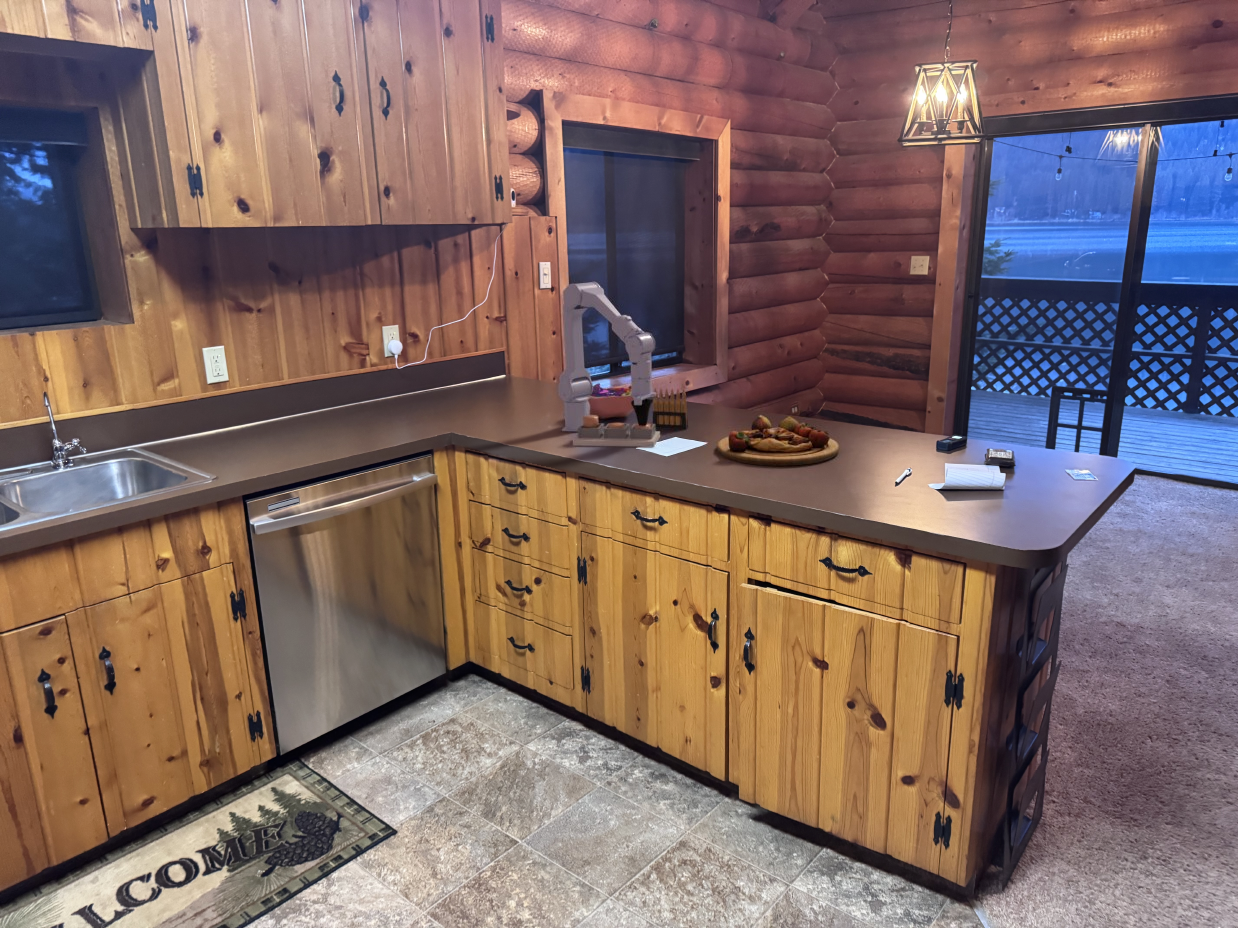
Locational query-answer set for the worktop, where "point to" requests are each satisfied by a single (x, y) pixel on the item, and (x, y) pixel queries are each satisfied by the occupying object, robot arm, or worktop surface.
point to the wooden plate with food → (778, 444)
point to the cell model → (610, 402)
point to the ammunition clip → (670, 410)
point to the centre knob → (616, 425)
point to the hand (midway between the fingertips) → (642, 425)
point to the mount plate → (616, 436)
